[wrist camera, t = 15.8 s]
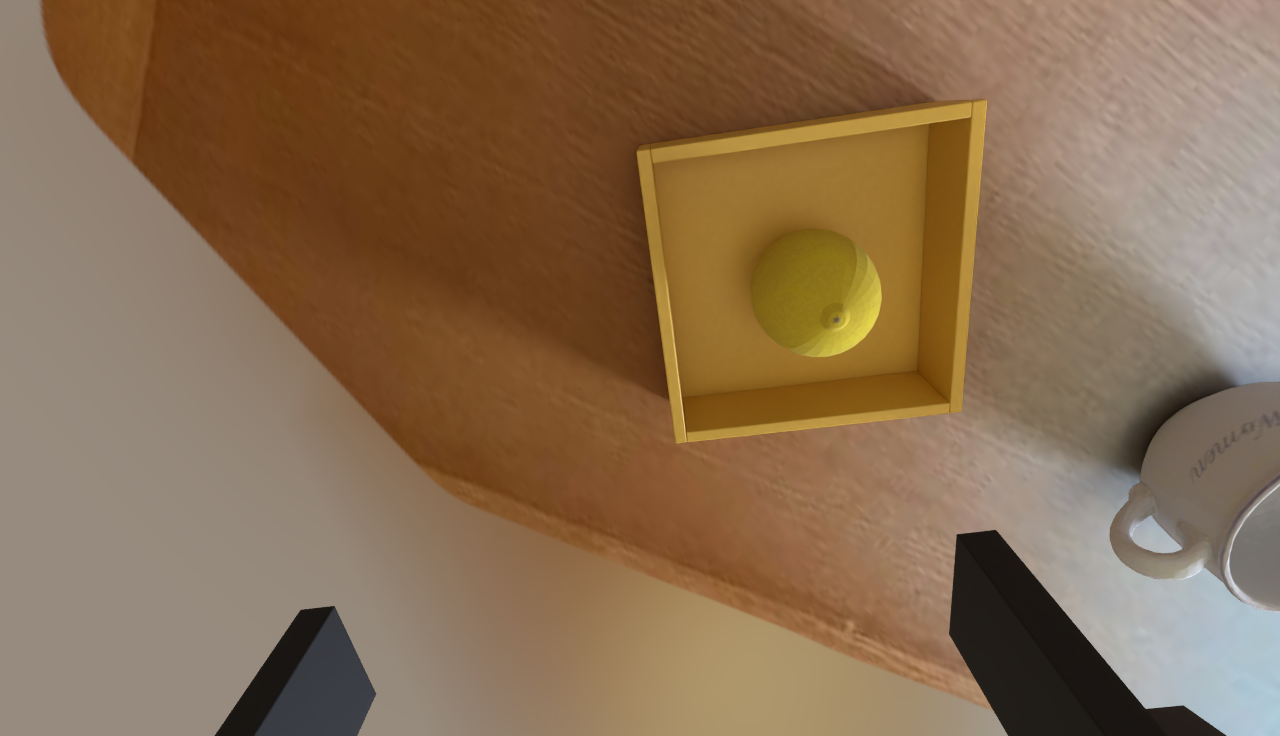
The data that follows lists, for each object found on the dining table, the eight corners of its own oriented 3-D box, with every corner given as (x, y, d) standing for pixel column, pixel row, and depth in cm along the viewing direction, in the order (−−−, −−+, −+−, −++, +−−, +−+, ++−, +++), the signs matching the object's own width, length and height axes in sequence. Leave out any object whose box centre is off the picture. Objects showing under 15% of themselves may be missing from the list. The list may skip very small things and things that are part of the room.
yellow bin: (672, 403, 34) (675, 444, 30) (638, 145, 29) (635, 151, 25) (923, 374, 33) (961, 412, 29) (937, 100, 28) (987, 98, 24)
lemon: (805, 192, 29) (857, 219, 22) (868, 275, 31) (936, 326, 23) (717, 266, 31) (738, 314, 23) (782, 341, 32) (820, 409, 25)
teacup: (1327, 344, 32) (1527, 413, 25) (1285, 506, 36) (1445, 606, 29) (1058, 390, 34) (1171, 467, 26) (1047, 540, 38) (1142, 644, 30)
